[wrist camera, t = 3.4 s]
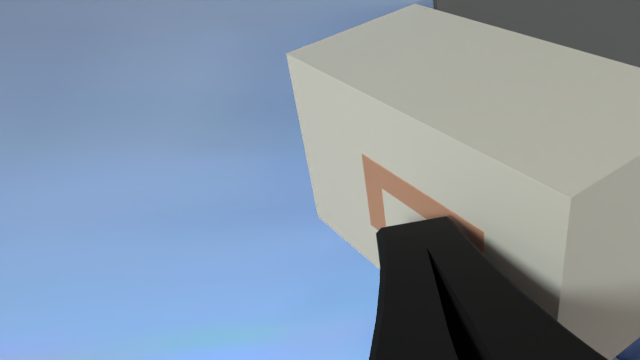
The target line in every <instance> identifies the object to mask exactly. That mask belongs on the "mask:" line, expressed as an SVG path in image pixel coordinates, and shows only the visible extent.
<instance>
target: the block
mask: <svg viewBox="0 0 640 360" xmlns="http://www.w3.org/2000/svg"><path fill="white" fill-rule="evenodd" d="M286 56H287V61H288V66H289V71H290V76H291V81H292V86H293V91H294V97H295V102H296V107H297V112H298V117H299V122H300V127H301V132H302V137H303V143H304V148H305V153H306V158H307V163H308V168H309V173H310V178H311V184H312V189H313V194H314V199H315V204H316V209H317V214H318V217H319V218H320V219H321V220H323V221H324V222H325V223H326V224H327V225H328V226H330V227H331V228H332V229H333V230H334V231H335V232H337V233H338V234H339V235H340V236H341V237H342V238H344V239H345V240H346V241H347V242H348V243H349V244H351V245H352V246H353V247H354V248H355V249H356V250H358V251H359V252H360V253H361V254H362V255H363V256H365V257H366V258H367V259H368V260H369V261H370V262H372V263H373V264H374V265H375V266H376V267H377V268H379V269H380V262H379V254H378V246H377V239H376V233H377V232H378V231H379V230H380V229H381V228H382V227H388V226H393V225H399V224H405V223H410V222H416V221H422V220H427V219H433V218H439V217H444V216H447V217H448V218H450V219H451V220H453V222H454V223H455V224H456V225H457V226H458V227H459V228H460V230H461V231H462V232H463V233H464V234H465V235H466V236H467V237H468V238H469V239H470V241H471V242H472V243H473V244H474V245H475V246H476V247H477V248H478V249H479V250H480V251H481V252H482V253H483V254H484V255H485V256H486V257H487V258H488V259H489V260H490V261H491V262H492V263H493V264H494V265H495V266H496V267H497V268H498V269H499V270H500V271H501V272H502V273H503V274H504V275H505V276H506V277H508V278H509V279H510V280H511V281H512V282H513V283H514V284H515V285H516V286H517V287H518V288H519V289H521V290H522V291H523V292H524V293H525V294H526V295H527V296H528V297H529V298H531V299H532V300H533V301H534V302H535V303H536V304H537V305H539V306H540V307H541V308H542V309H543V310H544V311H546V312H547V313H548V314H549V315H551V316H552V317H553V318H554V319H555V320H557V321H558V322H559V323H560V324H561V325H563V326H564V327H565V328H566V329H568V330H569V331H570V332H572V333H573V334H574V335H575V336H577V337H578V338H579V339H581V340H582V341H583V342H585V343H586V344H587V345H589V346H590V347H591V348H593V349H594V350H595V351H597V352H598V353H600V354H601V355H602V356H604V357H605V358H607V359H608V360H612V359H614V358H615V357H616V356H617V355H618V354H620V353H621V352H622V351H623V350H625V349H626V348H627V347H628V346H630V345H631V344H632V343H633V342H634V341H636V340H637V339H638V338H639V337H640V68H639V67H636V66H632V65H629V64H625V63H622V62H618V61H615V60H611V59H608V58H604V57H601V56H597V55H594V54H590V53H587V52H583V51H580V50H576V49H573V48H569V47H566V46H562V45H558V44H555V43H551V42H548V41H544V40H541V39H537V38H534V37H530V36H527V35H523V34H520V33H516V32H513V31H509V30H506V29H502V28H499V27H495V26H492V25H488V24H485V23H481V22H478V21H474V20H471V19H467V18H464V17H460V16H457V15H453V14H450V13H446V12H443V11H439V10H436V9H432V8H428V7H425V6H421V5H418V4H413V5H410V6H408V7H405V8H403V9H400V10H397V11H395V12H392V13H390V14H387V15H384V16H382V17H379V18H377V19H374V20H372V21H369V22H366V23H364V24H361V25H359V26H356V27H353V28H351V29H348V30H346V31H343V32H340V33H338V34H335V35H333V36H330V37H328V38H325V39H322V40H320V41H317V42H315V43H312V44H309V45H307V46H304V47H302V48H299V49H296V50H294V51H291V52H289V53H286Z"/></svg>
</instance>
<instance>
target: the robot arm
mask: <svg viewBox="0 0 640 360" xmlns="http://www.w3.org/2000/svg"><path fill="white" fill-rule="evenodd" d="M376 239H377V246H378V254H379V262H380V285H379V296H378V307H377V316H376V323H375V329H374V334H373V340H372V346H371V352H370V357H369V360H608V359H607V358H605V357H604V356H602V355H601V354H600V353H598V352H597V351H595V350H594V349H593V348H591V347H590V346H589V345H587V344H586V343H585V342H583V341H582V340H581V339H579V338H578V337H577V336H575V335H574V334H573V333H572V332H570V331H569V330H568V329H566V328H565V327H564V326H563V325H561V324H560V323H559V322H558V321H557V320H555V319H554V318H553V317H552V316H551V315H549V314H548V313H547V312H546V311H544V310H543V309H542V308H541V307H540V306H539V305H537V304H536V303H535V302H534V301H533V300H532V299H531V298H529V297H528V296H527V295H526V294H525V293H524V292H523V291H522V290H521V289H519V288H518V287H517V286H516V285H515V284H514V283H513V282H512V281H511V280H510V279H509V278H508V277H506V276H505V275H504V274H503V273H502V272H501V271H500V270H499V269H498V268H497V267H496V266H495V265H494V264H493V263H492V262H491V261H490V260H489V259H488V258H487V257H486V256H485V255H484V254H483V253H482V252H481V251H480V250H479V249H478V248H477V247H476V246H475V245H474V244H473V243H472V242H471V241H470V239H469V238H468V237H467V236H466V235H465V234H464V233H463V232H462V231H461V230H460V228H459V227H458V226H457V225H456V224H455V223H454V222H453V220H451V219H450V218H448V217H447V216H444V217H439V218H433V219H427V220H422V221H416V222H410V223H405V224H399V225H393V226H388V227H382V228H381V229H380V230H379V231H378V232H377V233H376ZM612 360H620V359H618V358H616V357H615V358H614V359H612Z"/></svg>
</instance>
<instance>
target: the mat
mask: <svg viewBox="0 0 640 360" xmlns="http://www.w3.org/2000/svg"><path fill="white" fill-rule="evenodd" d="M433 2H434V9H436V10H439V11H443V12H446V13H450V14H453V15H457V16H460V17H464V18H467V19H471V20H474V21H478V22H481V23H485V24H488V25H492V26H495V27H499V28H502V29H506V30H509V31H513V32H516V33H520V34H523V35H527V36H530V37H534V38H537V39H541V40H544V41H548V42H551V43H555V44H558V45H562V46H566V47H569V48H573V49H576V50H580V51H583V52H587V53H590V54H594V55H597V56H601V57H604V58H608V59H611V60H615V61H618V62H622V63H625V64H629V65H632V66H636V67H639V68H640V0H433Z"/></svg>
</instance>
